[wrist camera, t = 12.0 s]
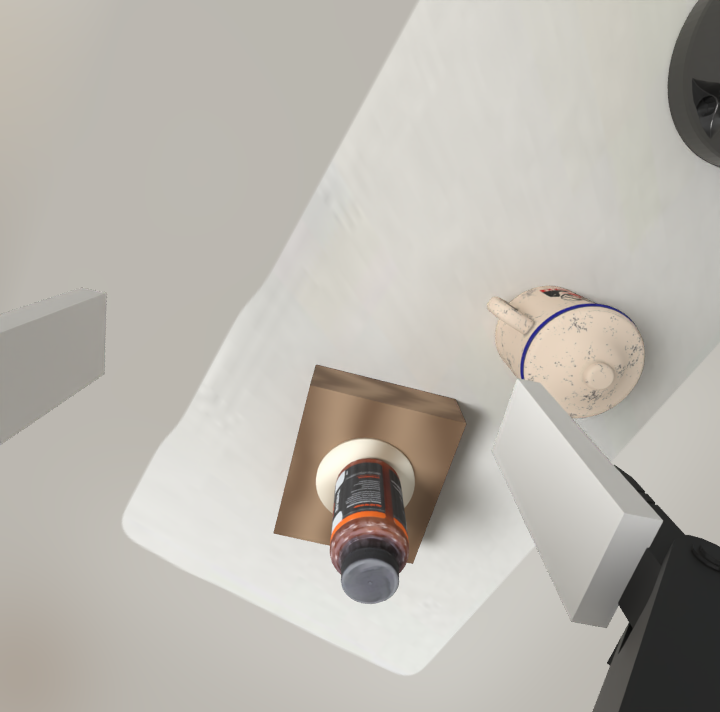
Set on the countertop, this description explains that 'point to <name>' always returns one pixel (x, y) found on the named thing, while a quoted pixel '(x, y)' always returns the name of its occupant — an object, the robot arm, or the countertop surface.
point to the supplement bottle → (369, 530)
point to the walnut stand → (367, 449)
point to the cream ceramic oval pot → (570, 347)
